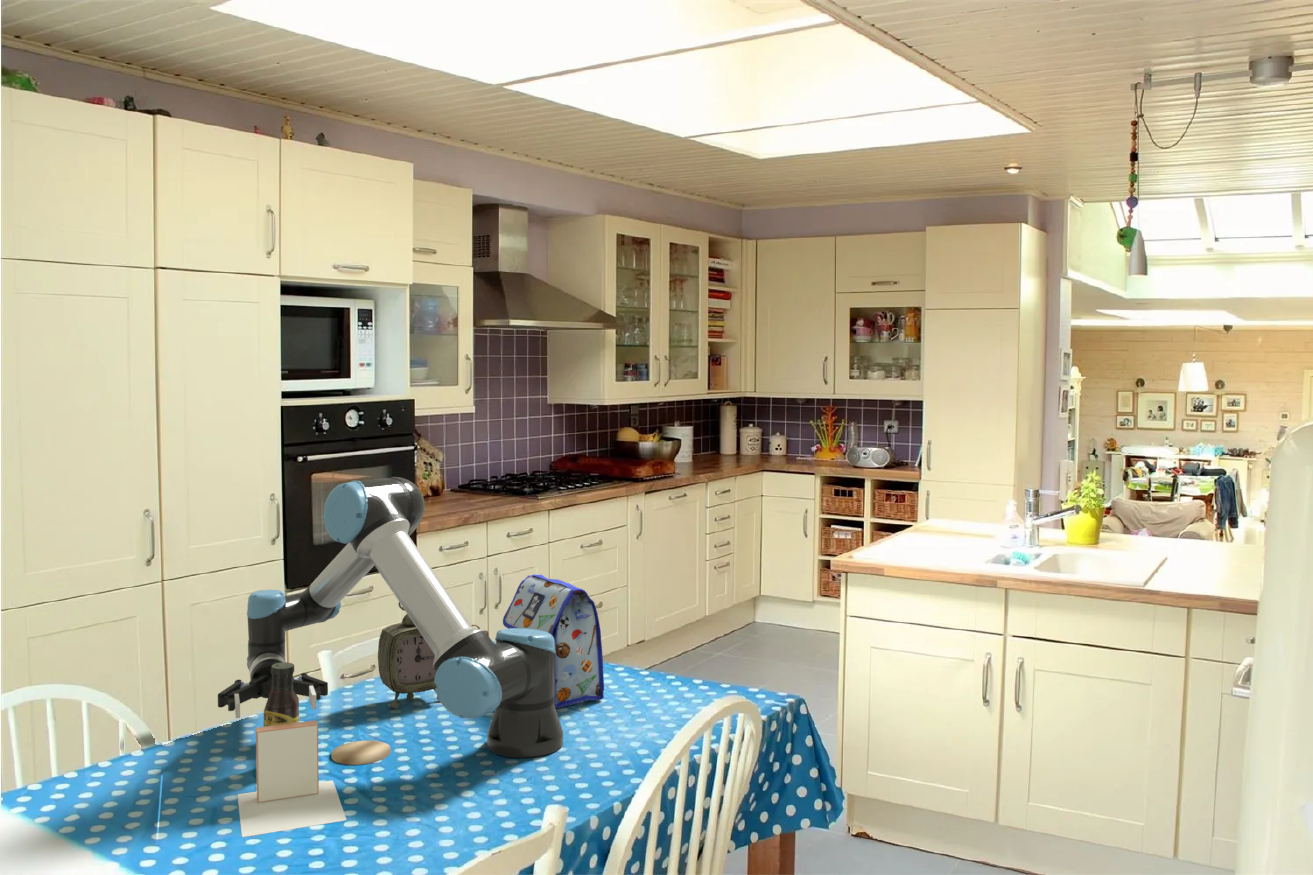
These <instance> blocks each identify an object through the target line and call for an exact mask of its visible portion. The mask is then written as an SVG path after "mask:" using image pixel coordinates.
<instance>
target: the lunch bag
mask: <svg viewBox="0 0 1313 875" xmlns="http://www.w3.org/2000/svg"><path fill="white" fill-rule="evenodd" d="M595 603H596V602H595V601H594V600H593V599H592V598H591V597H590V596H589V594H588V593H587V591H586V590H585V589H582V588H579V587H576V586H575V585H573V584H571V583H570V582H565V581H563V580H561V579H558V578H557V579H553V578H547V577H545V575H543V574H532V575H529V574H528V575H527V576H526V577H525V578H524V579H523V580H521V582H520V583H519V585H518V586H517V589H516V591H515V593H514V596H513V598H512V600H511V603H510V604H509V606H508V608H507V610H506V612H505V614H504V615H503V618H502V624H503V626H504V627H505V629H510V628H522V629H534V630H541V631H545V632H548V633H550V634H551V635H552V636H553V637H554V643H555V651H556V654H555V708H556V709H559V708H564V707H568V706H571V705H572V706H573V705H576V704H579V703H582V702H585V701H601V700H603V699H604V695H605V694H604V691H605V679H604V657H603V656H604V655H603V646H602V632H601V625H600V620H599V619H600V618H599V615H598V611H597V608H596V604H595Z"/></svg>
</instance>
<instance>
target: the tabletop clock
mask: <svg viewBox="0 0 1313 875" xmlns="http://www.w3.org/2000/svg"><path fill="white" fill-rule="evenodd" d="M398 607H399V609H401V610H402V611H405V610H404V608H403V607H402V605H401V604H400V602H399V601H398ZM405 612H406V611H405ZM401 620H402V621H401V622H399V623H397V622H396V623H393V624H390V625H387V626H385V627H383V629H382V630H381V632H380V635H379V639H378V645H377V646H378V648H377V649H378V650H377V663H378V664H377V666H378V674H379V678H380V681H381V682H382V684H383V685H385V687H387V688H388V689H389V690H390V691H392V692H394V694H395V695H394V699H393V701H392V702H391V703H390V708H391V709H393V710H395V709H397V708H398V706H399V702H398V698H399V696H400V694H404V695H405V694H406V699H407V700H409V701H410V700H413V699H414V697H415V695H414V693H415V694H416V693H424V692H426V691H432V690H433V691H434V693H436V691H435V688H436V686H437V685H436V684H435V683H434V679H435V674H436V671H435V669H434V668H433V662H434V658H435V654H434V653H433V651H432V650H431V648H430V647H429V645H428V644H427V642H426V641H425V639H424V638H423V636H422V635H421V633H420V632H419V630H418V629H417V627H416V626H415V625H414V623H413V622H412V620H411V619H410V617H409V616H408V614H407V613H406V614H405V615H404V616H403V618H402V619H401ZM436 699H437V701H439V699H438V697H437V696H436Z"/></svg>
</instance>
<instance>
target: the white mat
mask: <svg viewBox="0 0 1313 875" xmlns="http://www.w3.org/2000/svg"><path fill="white" fill-rule="evenodd" d="M237 802H238V803H237V805H238V814H239V823H240V832H241V834H240V835H241V838H246V837H253V836H259V835H265V834H271V833H279V832H282V831H283V832H285V831H289V830H296V829H303V828H309V827H314V826H320V825H327V824H332V823H339V822H345V821H347V817H346V814H345V811H344V808H343V806H342V803H341V800H340V796H339V794H338V791H337V788H336V786H335V783H334V780H326V781H319V794H313V795H306V796H299V797H293V798H286V799H280V800H273V801H266V802H260V803H257V791H250V792H244V793H237Z"/></svg>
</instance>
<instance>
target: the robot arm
mask: <svg viewBox="0 0 1313 875" xmlns="http://www.w3.org/2000/svg"><path fill="white" fill-rule="evenodd" d="M425 505H426V504H425V499H424V496H423V493H422V492H421V490H420V488H419V487H418V486H417V485H416V484H415V483H414V482H412V481H410V480H409V479H406V478H403V477H400V476H399V477H398V476H389V477H384V478H382V477H381V478H377V479H370V480H352V481H349V482H344V483H340V484H338V485H337V486H335V487H334V488H333V489H332V490H330V492H329V494H328V496H327V497H326V500H325V502H324V507H323V508H324V511H323V522H324V526H325V529H326V531H327V534H328V535H329V536H330V538H331V539H332V540H334V541H335V542H337V543H341V544H346V545H345V546H344V547H343V548H342V549H341V551H340V552H339V553H337V555H336V556H335V557H334V558H333V559H332V560H331V561H330V563H328V565H327V566H326V567H325V568H324V569H323V570H322V571H321V573H320V574H319V575H318V576H317V577H316V578H314V580H313V582H312V583H310V584H309V585H308V586H307V587H306V589H305V590H303V591H301V592H298V593H294V594H293V593H292V594H289V595H285V592H283V591H282V590H281V589H280V590H279V589H265V590H264V589H263V590H257V591H254V592H251V593H250V594H249V596H248V598H247V610H246V615H247V629H248V630H247V631H248V634H247V635H248V642H247V643H248V644H247V658H246V660H247V661H246V662H247V663H246V666H247V669H248V673H249V679H250V681H249V682H244V681H243V680H242V679H235V681H234V682H233V684H231V685H229V686H228V687H226V688H225V689H224V690H222V691H220V692H219V693H217V707H218V708H224V707H226V706H227V711H228V712H233V711H234V715H235V719H240V718H241V704H242V703H246V702H247V701H249V700H251V699H253V700H254V699H256V700H257V699H259V698H263V699H268V697H269V694H270V691H271V686H272V674H271V666H272V665H273V664H276V663H282V662H286V632H287V631H290V630H291V631H292V630H295V629H298V628H302V627H307V626H310V625H314V624H315V625H316V624H318V623H319V624H320V623H325V622H327V621H328V620H332V619H333V618H336V617H337V615H339V614H340V609H341V607H342V601H343V599H344V598H345V597H346V596H347V595H348V594H349V593H350V592H351V591H352V590H353V588H355V587H356V586H357V584H358V583H359V582H360V581H362V579H363V578H364V577H365V576H366V575H367V574H368V573H369V572H370V571H371V570H372V568H374V567H375V569H377V571H378V573H379V574H380V575H381V577H382V578H383V580H384V582H385V583H386V584H387V586H388V587H389V589H390V591H391V592H392V593H393V595H394V596H395V598H396V599H397V601H398V603H399V602H400V604H401V607H403V608H404V610H405V613H406V614H408V616H409V617H410V619H411V620H412V622H413V623H414V625H415V626H416V627H417V629H418V630H419V632H420V633H421V635H422V636H423V638H424V639H425V641H426V642H427V644H428V645H429V647H430V648H431V650H432V651H433V653H434V654H435V658H434V662H433V668H434V669H435V671H436V674H435V679H434V683H435V684H436V685H437V686H436V688H435V691H436V692H435V691H434V692H435V694H436V698H437V697H438V699H439V700H438V699H437V700H438V701H439V703H440V704H441V706H442V707H443V708H444V709H446V710H447V711H448V712H449V713H451V714H452V715H453V716H455V717H458V718H462V719H467V720H468V719H476V718H478V717H481V716H487V715H489V714H491V713H493V715H492V718H491V722H490V725H489V728H488V731H487V733H486V734H487V735H486V748H487V749H488V750H489V751H490V752H492V753H494V754H496V755H498V756H502V757H509V758H535V757H541V756H546V755H549V754H551V753H554V752H556V751H558V750H560V749H561V748H562V747H563V745H564V731H563V730H564V729H563V728H562V724H561V722H560V719H559V718H560V717H559V715H558V711H557V708H556V707H555V654H556V651H555V643H554V637H553V636H552V635H551V634H550V633H548V632H545V631H541V630H534V629H522V628H510V629H508V628H502V629H500V630H497V631H496V635H495V643H494V642H493V640H492V639H491V638H490V636H488V635H487V633H486V632H485V630H486V629H481V628H480V629H478V628H475V627H474V626H471V625H472V624H471V623H470V621H469V620H468V619H467V618H466V616H465V615H464V613H463V611H462V610H461V608H460V607H459V606H458V604H457V603H456V602H455V600H454V599H453V597H452V596H451V594H450V593H449V591H448V590H447V588H446V587H445V586H444V584H443V582H442V581H441V579H440V578H439V577H438V576H437V574H436V573H435V571H434V570H433V568H432V567H431V565H430V564H429V562H428V561H427V560H426V558H425V556H424V555H423V554H422V552H421V551H420V550H419V548H418V547H417V545H416V544H415V543H414V541H413V539H412V538H411V537H410V536H411V535H412V534H413V533H414V532H415V530H417V528H418V527H419V525H420V524H421V522H422V521H423V517H424V515H425V512H426V511H425V509H426V508H425V507H426V506H425ZM404 610H403V611H404ZM328 687H329V684H328V682H327V681H325V680H321V679H319V678H316V677H313V676H311V675H308V674H307V673H306V672H302V673H300V675H298V677H293V689H294V692H295V693H296V695H297V696H298V695H299V696H303V697H307V698H308V700H309V703H310V706H311V709H312V710H316V709H317V701H320V700H321V696H323V697H326V696H328V695H329V688H328Z"/></svg>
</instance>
